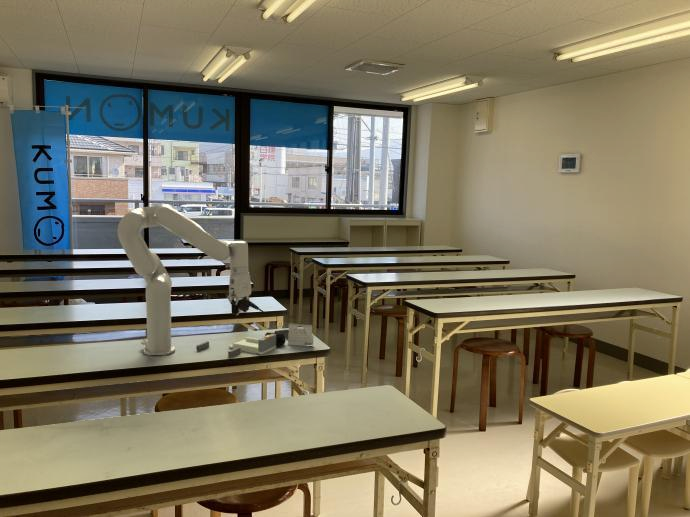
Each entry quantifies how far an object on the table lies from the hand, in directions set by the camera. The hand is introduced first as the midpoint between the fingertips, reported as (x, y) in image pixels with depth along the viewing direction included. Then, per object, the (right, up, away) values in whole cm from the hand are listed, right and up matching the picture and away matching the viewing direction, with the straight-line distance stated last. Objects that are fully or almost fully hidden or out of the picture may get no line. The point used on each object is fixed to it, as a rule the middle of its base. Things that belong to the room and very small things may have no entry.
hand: (240, 311), depth 245 cm
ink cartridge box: (+25, -16, +10) cm, 31 cm away
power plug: (+4, -1, +1) cm, 4 cm away
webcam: (+13, -16, +10) cm, 23 cm away
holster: (-9, -17, -3) cm, 19 cm away
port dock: (+5, -16, +4) cm, 17 cm away
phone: (+18, -14, +25) cm, 34 cm away
